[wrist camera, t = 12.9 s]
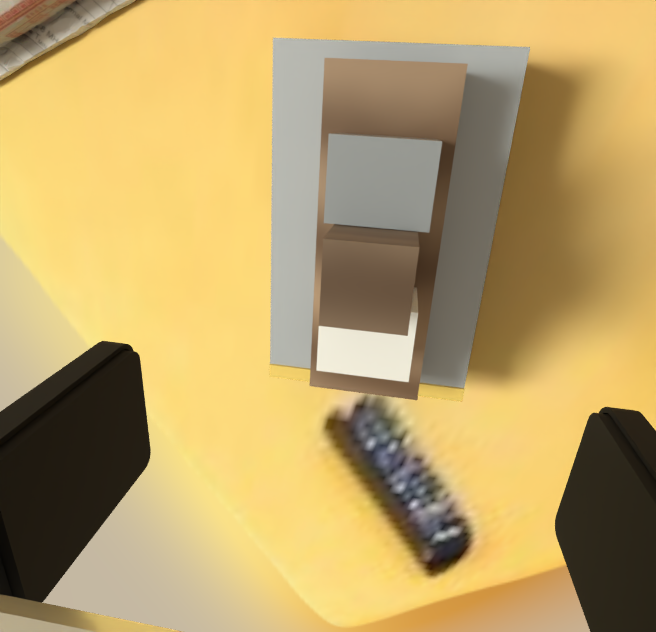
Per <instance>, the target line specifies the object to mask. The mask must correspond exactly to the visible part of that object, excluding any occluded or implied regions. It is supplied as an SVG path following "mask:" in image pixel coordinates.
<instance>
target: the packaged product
mask: <svg viewBox="0 0 656 632" xmlns="http://www.w3.org/2000/svg"><path fill="white" fill-rule="evenodd" d="M134 1H136V0H0V81H1V80H2V79H4V78H6V77H7V76H9V75H11V74H12V73H14V72H15V71H17V70H18V69H20V68H21V67H23V66H24V65H25V64H27V63H28V62H30V61H32V60H34V59H36V58H37V57H39V56H41V55H43V54H45V53H47V52H48V51H50V50H52V49H54V48H56V47H57V46H59V45H61V44H62V43H64V42H66V41H68V40H70V39H72V38H74V37H76V36H78V35H81V34H82V33H84V32H85V31H87V30H88V29H90V28H92V27H94V26H95V25H96V24H98V23H99V22H100V21H101V20H103V19H104V18H105V17H106V16H108V15H110V14H112V13H114V12H116V11H118V10H120V9H122V8H123V7H125V6H127V5H129V4H131V3H133V2H134Z"/></svg>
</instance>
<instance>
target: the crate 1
mask: <svg viewBox="0 0 656 632" xmlns="http://www.w3.org/2000/svg"><path fill="white" fill-rule="evenodd" d="M441 147H442V141H440V140H438V139H425V138H410V137H395V136H380V135H365V134H350V133H331V134H329V137H328V155H327V173H326V191H325V209H324V223H329V224H340V225H351V226H362V227H373V228H384V229H395V230H406V231H417V232H427V233H429V230H430V223H431V217H432V210H433V203H434V196H435V189H436V182H437V175H438V168H439V161H440V154H441Z"/></svg>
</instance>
